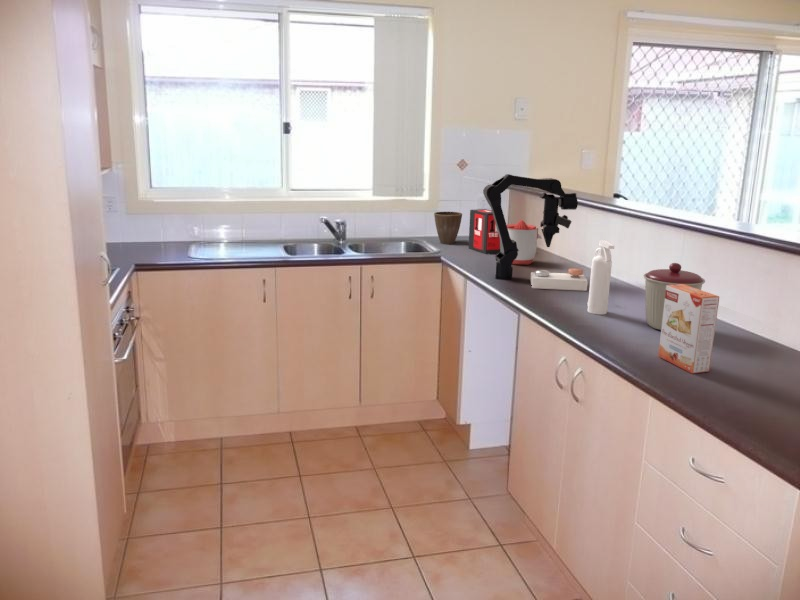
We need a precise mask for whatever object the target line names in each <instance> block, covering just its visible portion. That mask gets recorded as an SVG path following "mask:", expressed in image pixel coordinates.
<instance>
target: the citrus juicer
mask: <svg viewBox="0 0 800 600" xmlns="http://www.w3.org/2000/svg"><path fill="white" fill-rule="evenodd" d="M506 225H507V229H508V232H509V236H510V239H511V240H512V239H513V240H514V241H516V243H517V248H518V250H519V251H517V252H518V256H517V258H516V259H515V260H514V261H513V263H512V265H525V266H529V265H530V264H532V263H533V261H534V259H535V256H536V252H537V247H538V245H537V244H538V239H543V238H542V236H541V235H540V234H539V228H537V226H536V225H531V224H527V223H526V222H525V221H524V220H522V219H520V220H519V221H518V222H517V223H516V224H506Z"/></svg>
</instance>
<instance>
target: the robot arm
mask: <svg viewBox="0 0 800 600" xmlns="http://www.w3.org/2000/svg"><path fill="white" fill-rule="evenodd" d="M512 185H513V186H519V187H525V188H533V189H534V188H535V189H538V190H542V191H544V192H543V193H542V194H541V195H539V198H540V199H542V200H543V201H544V203H543V211H542V215H543V217H542V218H543V219H542V220H541V221H540V228H542V229H541V232H542V236H543V239H544V242H545V245H546V247H547V248H550V247H551V245H552V241H553V237H554V236H555V234H560V227H559V225H560V226H562V227H564V228H565V229H569V228H570V226H571V224H572V220H571V219H569V216H568V215H566V214H563V215H562V216H561V215H560V213H559V208H560V209H561V210H562V211H563V210H565V211H567V210H568V211H569V210H570V211H571V210H575V211H576V210H577V208H578V206H579V205H578V204H579V202H578V198H577V193H576V192H566V193H565V191H564V190H563V187H562V183H561V181H560V180H559V179H557V178H553V177H551V178H550V177H549V178H547V177H546V178H533V177H532V178H531V177H525V176H519V175H512V174H510V173H508V174H507V173H506V174H505V175H504V176H502V177H501V178H499V179H497V180H496V181H494V182H493V183H492V184H487V185H486V186H484V188H483V196H484V198H485V200H486V202H487V204H488V205H489V207H490V209H491V211H492V213H493V216H494V220H495V223H496V227H497V230H498V234H499V237H500V252H499V253H496V254H495V256H494V258H495V261H496V262H495V276H494V278H495V279H497V280H499V279H500V280H512V278H513V271H514V270H513V269H514V266H513V264H512V263H513V261H514V260H515V259H516V258H517V256H518V252H517V251H519V250H518V248H517V243H516V241H514V240H513V239H512V240H511V239H510V236H509V232H508V229H507V225H508V224H507V223H506V219H505V218H506V217H505V215H504V211H503V208H502V193H504V192H505V191H506V190H507V189H508V188H509V187H511V186H512ZM547 193H550V194H547Z"/></svg>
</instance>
